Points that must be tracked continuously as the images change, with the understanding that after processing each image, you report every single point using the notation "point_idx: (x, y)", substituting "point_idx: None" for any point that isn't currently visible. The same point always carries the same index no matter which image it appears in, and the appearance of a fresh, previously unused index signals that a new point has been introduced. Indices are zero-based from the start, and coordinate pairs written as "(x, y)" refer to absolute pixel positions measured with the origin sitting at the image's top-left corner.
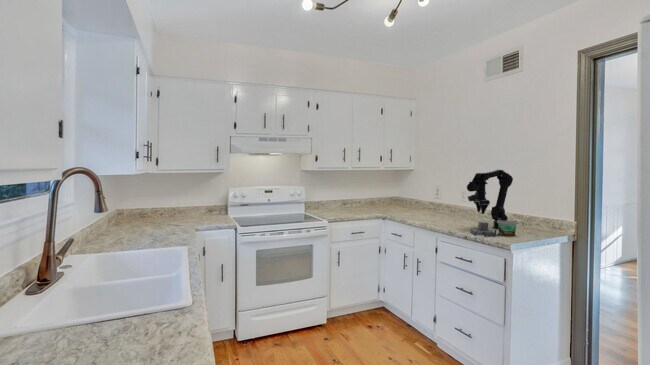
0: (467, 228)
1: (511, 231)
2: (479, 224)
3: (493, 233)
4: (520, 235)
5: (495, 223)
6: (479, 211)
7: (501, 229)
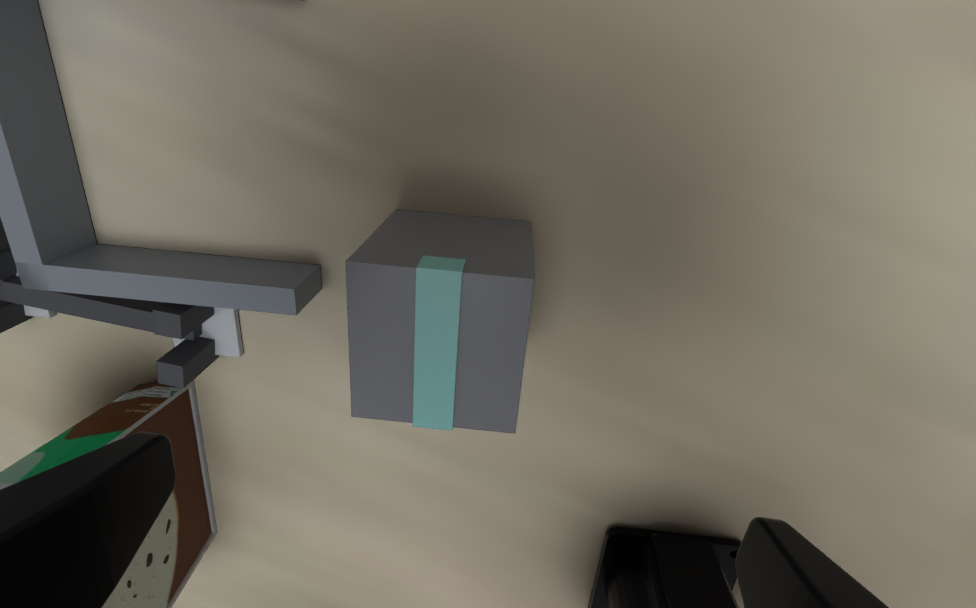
0: (724, 70)
1: None
2: (442, 253)
3: (148, 309)
4: (202, 572)
5: (667, 597)
6: (741, 579)
7: (58, 436)
